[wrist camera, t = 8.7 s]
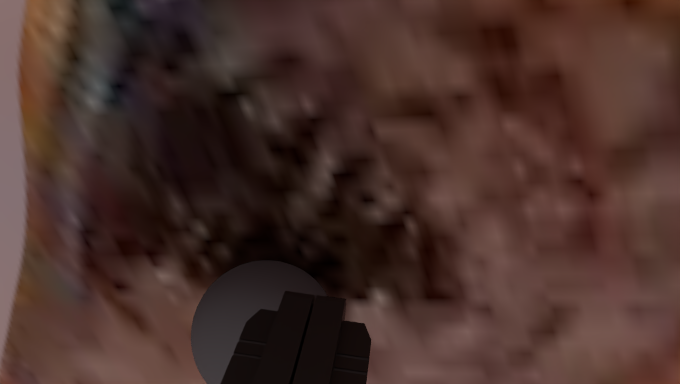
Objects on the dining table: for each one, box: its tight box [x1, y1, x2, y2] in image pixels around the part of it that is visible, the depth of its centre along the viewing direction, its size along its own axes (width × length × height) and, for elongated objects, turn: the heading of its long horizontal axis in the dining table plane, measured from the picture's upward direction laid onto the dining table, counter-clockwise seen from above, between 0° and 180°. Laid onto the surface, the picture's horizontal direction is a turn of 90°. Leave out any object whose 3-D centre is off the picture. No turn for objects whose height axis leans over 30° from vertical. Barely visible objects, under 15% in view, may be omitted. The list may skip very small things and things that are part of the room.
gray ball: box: [191, 260, 327, 384], centre depth 21 cm, size 6×6×6 cm
